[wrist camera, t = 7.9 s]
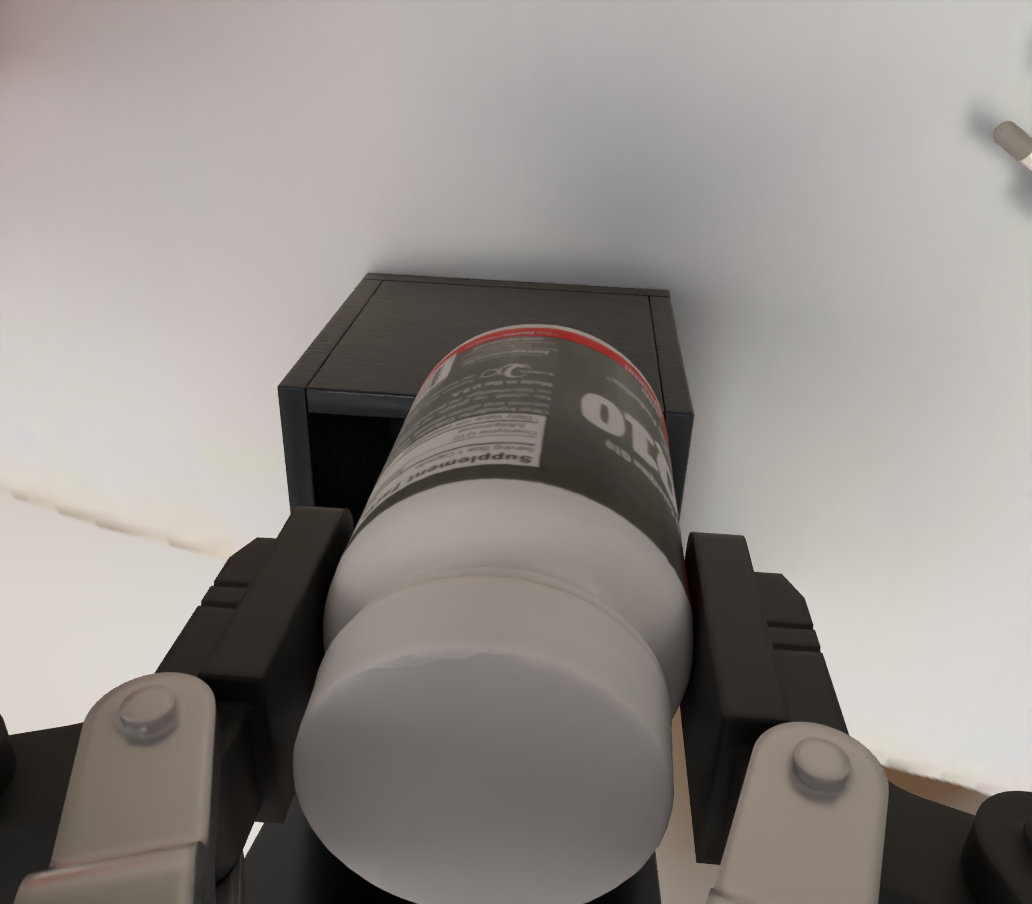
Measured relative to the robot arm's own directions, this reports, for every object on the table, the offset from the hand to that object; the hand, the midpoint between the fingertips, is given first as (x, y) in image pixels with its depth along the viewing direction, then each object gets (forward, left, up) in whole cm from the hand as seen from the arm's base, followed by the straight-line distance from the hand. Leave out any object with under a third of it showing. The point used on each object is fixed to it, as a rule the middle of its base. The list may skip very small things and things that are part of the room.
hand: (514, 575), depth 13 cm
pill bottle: (0, 0, -5) cm, 5 cm away
